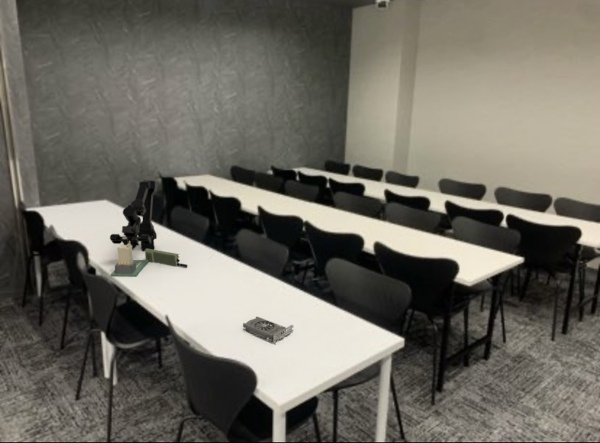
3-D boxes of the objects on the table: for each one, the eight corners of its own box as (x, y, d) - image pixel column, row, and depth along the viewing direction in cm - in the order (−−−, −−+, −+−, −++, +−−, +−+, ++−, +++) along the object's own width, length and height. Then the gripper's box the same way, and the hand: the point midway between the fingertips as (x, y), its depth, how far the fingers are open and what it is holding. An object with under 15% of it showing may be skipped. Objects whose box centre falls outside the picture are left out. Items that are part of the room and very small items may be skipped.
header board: (125, 261, 236) (124, 249, 235) (148, 261, 237) (147, 250, 235) (110, 276, 217) (109, 263, 215) (136, 276, 217) (135, 263, 216)
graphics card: (295, 324, 170) (275, 336, 161) (295, 334, 171) (275, 346, 162) (261, 312, 180) (240, 322, 171) (261, 320, 181) (240, 331, 171)
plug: (123, 268, 224) (121, 242, 220) (133, 268, 224) (131, 242, 220) (119, 272, 219) (117, 245, 216) (130, 272, 219) (128, 246, 216)
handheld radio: (149, 259, 241) (189, 267, 232) (144, 261, 238) (185, 269, 229) (147, 247, 239) (188, 254, 230) (143, 249, 236) (184, 257, 227)
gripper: (109, 218, 223) (102, 247, 215) (148, 219, 223) (142, 247, 216) (116, 229, 232) (110, 257, 225) (153, 229, 233) (148, 257, 225)
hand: (127, 254), depth 222 cm, fingers closed, pressing on plug
